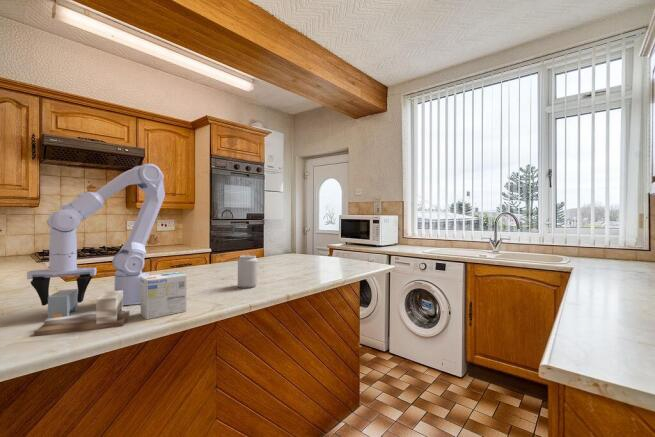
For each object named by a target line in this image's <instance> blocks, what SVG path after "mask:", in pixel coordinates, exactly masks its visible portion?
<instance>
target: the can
mask: <svg viewBox="0 0 655 437" xmlns="http://www.w3.org/2000/svg"><path fill="white" fill-rule="evenodd" d="M258 262H259V259H258V258H257V256H256V255H255V254H254V255H253V254H243V255H240V256H239V259H237V286H238V287H239V288H241V289H251V288H254V287H256V286H257V285H258V280H259V279H258V278H259V275H258V271H259V268H258V266H259V265H258V264H259V263H258Z"/></svg>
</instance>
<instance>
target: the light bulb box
mask: <svg viewBox="0 0 655 437" xmlns="http://www.w3.org/2000/svg"><path fill="white" fill-rule="evenodd" d="M149 275H150V274H149ZM187 288H188V287H187V274H186V273H183V272H181V271H175V272H168V273H160V274H152V275H150V276H141V277H140V295H141V304H140V315H141V316H142V317H143V318H144V319H145V320H151V319H155V318H160V317H165V316H170V315H173V314H179V313H183V312H187V311H188V310H187V308H188V307H187Z"/></svg>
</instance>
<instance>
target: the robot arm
mask: <svg viewBox="0 0 655 437" xmlns="http://www.w3.org/2000/svg"><path fill="white" fill-rule="evenodd" d="M164 177H165V176H164V174H163V172H162V170H161V169H160V167H159V166H157V164H153V163H145V164H142V165H136V166H134V167H132V168H131V169H128V170H126V171H124V172H122V173H121V174H119V175H117V176H116V177H115V178H113V179H111V180H110V181H109V182H108V183H106V184H105V185H103V186H102V187H100V188H99V189H97V190H96V191H94V192H93V191H86V192H84V193H83V192H79V193H78V194H77V195H76V196H77V198H75V199H73V200H72V201H70V202H69V203H67V204H65V203H64V204H62V205H61V206H60V207H61V209H59V210H55V211H53V212H51V213H50V214H49V215H48V218H47V220H46V223H47V226H48V227H49V228H50V230H49V235H50V236H49V238H48V239H49V241H48V242H49V244H48V245H49V246H48V247H49V250H48V251H49V252H48V254H49V257H48V258H49V263H48V264H49V266H48V267H49V268H48V269H37V270H34V269H33V270H29V271H27V272H26V279H27V280H31V281H30V285H31V286H32V287H33V288H34V291H36V293H37V295H38V297H39V299H40V303H41V306H46V305H47V306H48V297H50V296H49V292H50V290H49V289H50V281H51V278H63V277H65V278H66V277H76V279H75V280H76V284H77V289H78V298H77V300H78V304H79V303H82V302H83V301H84V299H85V293H86V291H87V288H88V286H89V284H90V282H91V280H92V279H93V277H94V276H96V275H97V267H78V237H77V228H78V227H79V226H80V224H81V221H82V222H83V221H85V220H86V219H87V218H89V217H91V216H92V215H94V214H95V213H96V212H98V211H100V210H101V209H102V208H104V204H105V201H106V200H107V199H108V198H110V197H112V196H113V195H115V194H117V193H119V192H120V191H121V190H123V189H125V188H126V187H128V186H130V185H136V186H137V187H138V188H140V190H141V191H142V192H143V194H144V195H145V198H144V199H143V202H142V205H141V207H140V209H139V211H138V214H137V216H136V219H135V221H134V224H133V226H132V227H131V231H130V233H129V235H128V238H127V240H126V242H125V243H124V244H123V245H122V246H121V248H120V250H119V252H117V253H116V254H115V255H114V256H113V257H112V260H111V262H112V266H113V268H114V269H116V271H115V272H114V291H122V290H123V306H131V305H132V306H133V305H141V295H140V277H141V276H150V273H148V272H146V273H145V272H143V269H144V268H145V263H146V262H145V258H146V254H147V251H146V244H147V242H148V240H149V236H150V234H151V232H152V229H153V227H154V225H155V221H156V219H157V216H158V214H159V212H160V209H161V207H162V205H163V202H164V199H165V196H166V192H165V191H166V190H165V184H164Z"/></svg>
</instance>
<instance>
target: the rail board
mask: <svg viewBox="0 0 655 437" xmlns="http://www.w3.org/2000/svg"><path fill="white" fill-rule="evenodd" d="M95 302H96V307H95V308H96V310H95V311H96V312H95V313H88V314H77V315H69V316H66V317H56V318H48V317H47V318H46V319H45V320H44V321H43V325H41V326H40V327H39V328H37V329H36V330H35V331H34V334H33V335H34V337H37V336H46V335H53V334H54V335H55V334H63V333H71V332H81V331H89V330H98V329H107V328H116V327H123V326H124V325H125V322H126V321H127V319H128V318H129V317H130V315H131V314H130V311H129V310H128V311H127V310H126V311H125V310H124V309H123V308H124V305H123V290H122V291H115V290H110V291H109V290H108V291H104V292H103V293H102V294H101V295H100V296H99V297H98V298H96V301H95Z"/></svg>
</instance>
